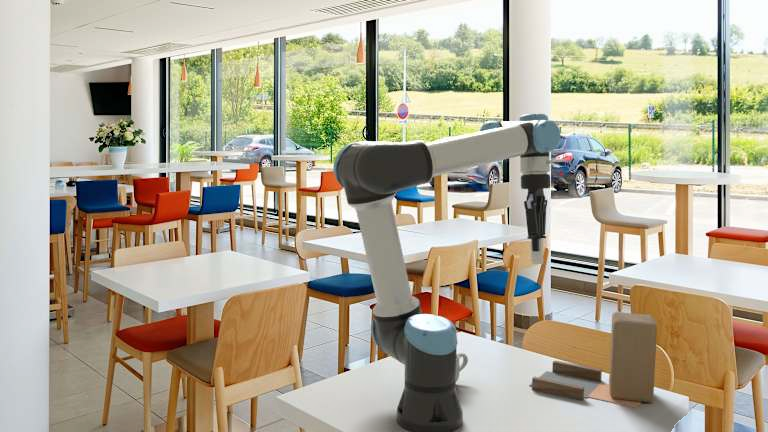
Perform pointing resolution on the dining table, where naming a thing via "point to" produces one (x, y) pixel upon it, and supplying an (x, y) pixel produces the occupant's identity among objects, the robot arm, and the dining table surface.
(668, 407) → the dining table surface
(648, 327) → the wooden block
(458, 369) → the teacup
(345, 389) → the dining table surface
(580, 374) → the lane rails
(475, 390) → the dining table surface
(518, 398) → the dining table surface
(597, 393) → the tile
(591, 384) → the grey square panel
